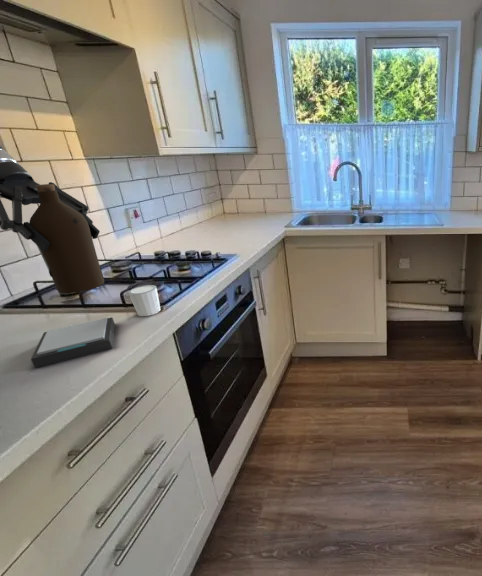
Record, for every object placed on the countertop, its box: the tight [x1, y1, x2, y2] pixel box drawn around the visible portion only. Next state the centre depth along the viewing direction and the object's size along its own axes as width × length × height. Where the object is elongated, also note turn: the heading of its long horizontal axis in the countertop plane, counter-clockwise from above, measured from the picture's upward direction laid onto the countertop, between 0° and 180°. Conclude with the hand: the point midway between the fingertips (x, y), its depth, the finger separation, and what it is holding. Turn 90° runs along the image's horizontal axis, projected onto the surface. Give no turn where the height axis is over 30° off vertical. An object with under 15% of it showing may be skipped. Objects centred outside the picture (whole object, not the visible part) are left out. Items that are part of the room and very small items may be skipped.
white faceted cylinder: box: [127, 284, 161, 317], centre depth 102 cm, size 7×7×7 cm
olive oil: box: [28, 183, 105, 294], centre depth 87 cm, size 11×11×25 cm
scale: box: [30, 316, 116, 369], centre depth 87 cm, size 14×14×3 cm
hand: (73, 240), depth 86 cm, fingers closed on olive oil, 11 cm apart
